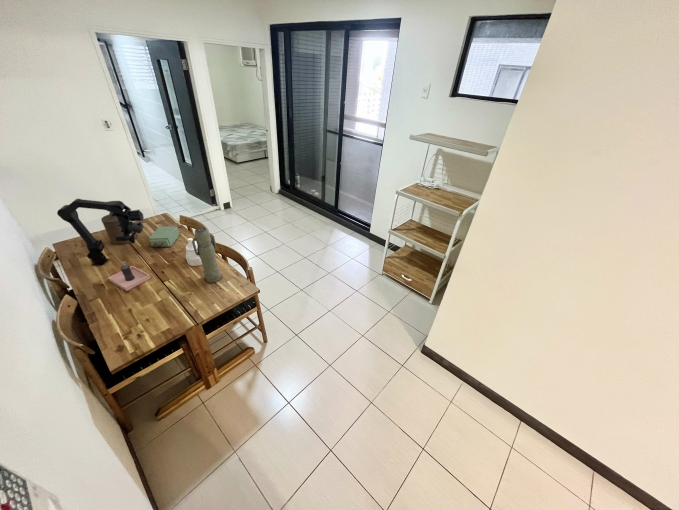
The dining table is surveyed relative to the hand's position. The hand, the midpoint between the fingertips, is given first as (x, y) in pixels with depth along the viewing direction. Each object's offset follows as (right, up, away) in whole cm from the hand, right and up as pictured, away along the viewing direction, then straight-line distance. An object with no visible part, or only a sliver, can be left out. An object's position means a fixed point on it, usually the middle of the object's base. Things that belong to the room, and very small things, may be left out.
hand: (133, 243), depth 176 cm
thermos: (+55, -23, -6) cm, 59 cm away
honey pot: (+37, -12, +9) cm, 40 cm away
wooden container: (-25, +4, +24) cm, 35 cm away
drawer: (+5, +2, +23) cm, 23 cm away
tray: (+7, -23, -11) cm, 26 cm away
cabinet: (+5, +3, +26) cm, 27 cm away
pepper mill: (+7, -22, -11) cm, 26 cm away
